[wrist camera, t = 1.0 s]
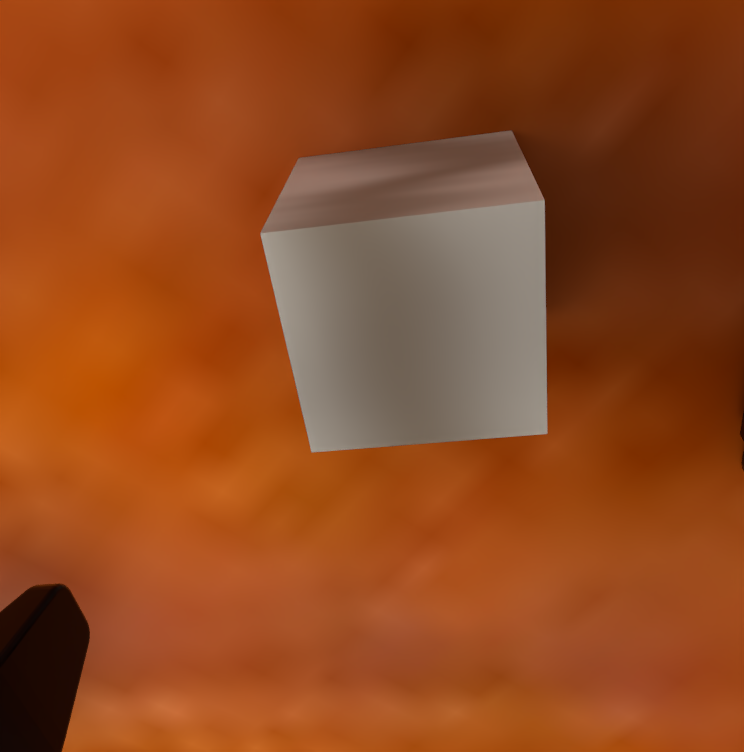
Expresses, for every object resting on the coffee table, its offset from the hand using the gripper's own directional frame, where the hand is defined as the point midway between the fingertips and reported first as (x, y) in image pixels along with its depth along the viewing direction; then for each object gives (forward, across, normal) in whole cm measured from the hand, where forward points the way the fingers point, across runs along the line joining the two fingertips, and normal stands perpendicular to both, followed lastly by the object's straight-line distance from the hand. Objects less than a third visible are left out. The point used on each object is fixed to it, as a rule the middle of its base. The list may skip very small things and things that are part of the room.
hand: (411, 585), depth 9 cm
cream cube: (+11, 0, 0) cm, 11 cm away
